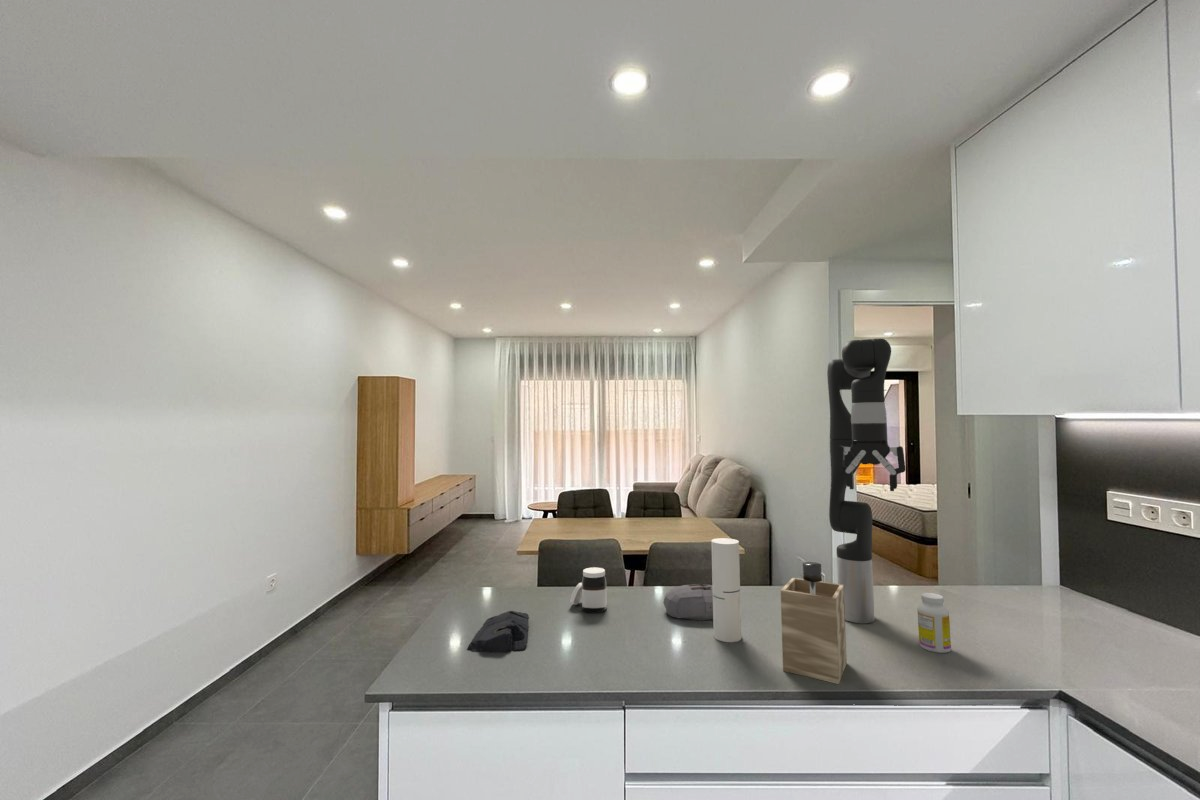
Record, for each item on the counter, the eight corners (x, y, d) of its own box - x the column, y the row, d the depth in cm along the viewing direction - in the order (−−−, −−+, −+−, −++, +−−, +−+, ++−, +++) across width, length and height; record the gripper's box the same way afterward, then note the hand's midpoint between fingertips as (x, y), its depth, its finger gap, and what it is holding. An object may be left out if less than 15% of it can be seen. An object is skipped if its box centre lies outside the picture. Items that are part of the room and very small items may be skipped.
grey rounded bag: (722, 603, 162) (659, 605, 161) (722, 577, 162) (659, 578, 161) (737, 622, 147) (668, 624, 146) (736, 592, 147) (667, 594, 146)
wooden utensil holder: (794, 651, 126) (792, 577, 127) (846, 663, 120) (843, 584, 121) (783, 670, 117) (780, 590, 118) (838, 684, 110) (835, 598, 111)
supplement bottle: (946, 644, 130) (943, 592, 130) (954, 655, 123) (952, 601, 124) (916, 641, 132) (913, 590, 132) (922, 652, 126) (920, 598, 126)
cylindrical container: (742, 643, 132) (739, 544, 133) (713, 641, 133) (711, 543, 135) (740, 632, 139) (738, 538, 140) (713, 630, 140) (711, 537, 142)
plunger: (799, 650, 125) (796, 557, 126) (839, 658, 120) (835, 562, 121) (790, 664, 117) (787, 565, 118) (832, 674, 112) (828, 571, 114)
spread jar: (606, 614, 153) (606, 574, 154) (569, 614, 153) (568, 575, 154) (606, 601, 165) (606, 564, 166) (571, 601, 165) (571, 564, 166)
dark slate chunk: (536, 621, 150) (536, 604, 150) (525, 654, 128) (525, 634, 128) (484, 621, 150) (484, 604, 150) (463, 654, 128) (463, 635, 128)
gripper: (904, 421, 122) (907, 490, 122) (838, 422, 130) (841, 486, 129) (902, 421, 116) (905, 493, 115) (833, 422, 124) (836, 490, 123)
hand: (871, 489), depth 122 cm, fingers open, 8 cm apart
